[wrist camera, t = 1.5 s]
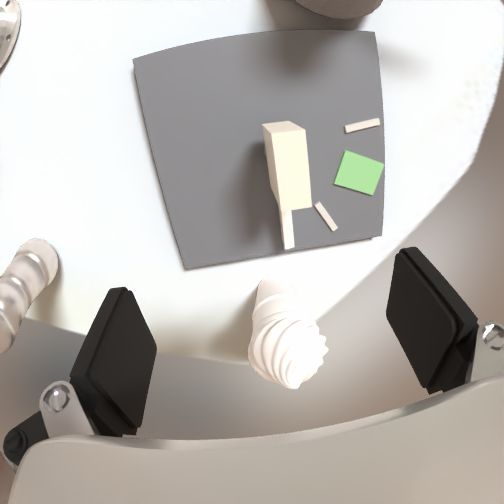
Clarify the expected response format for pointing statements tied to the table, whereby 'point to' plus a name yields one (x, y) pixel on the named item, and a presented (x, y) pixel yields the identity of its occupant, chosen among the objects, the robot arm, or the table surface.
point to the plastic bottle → (24, 285)
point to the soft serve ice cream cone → (284, 335)
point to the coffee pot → (341, 7)
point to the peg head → (287, 172)
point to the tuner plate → (252, 139)
